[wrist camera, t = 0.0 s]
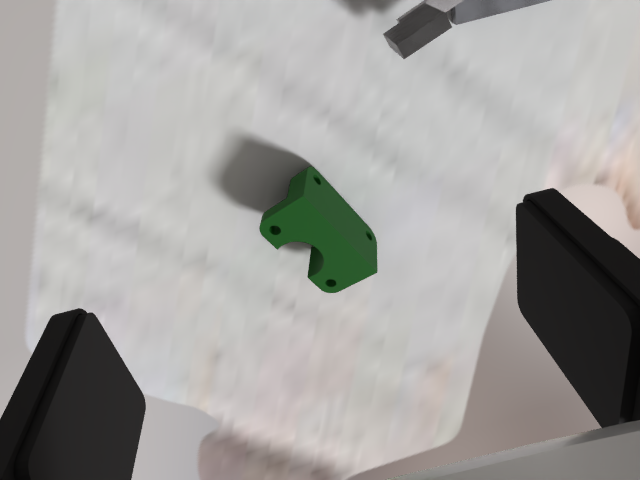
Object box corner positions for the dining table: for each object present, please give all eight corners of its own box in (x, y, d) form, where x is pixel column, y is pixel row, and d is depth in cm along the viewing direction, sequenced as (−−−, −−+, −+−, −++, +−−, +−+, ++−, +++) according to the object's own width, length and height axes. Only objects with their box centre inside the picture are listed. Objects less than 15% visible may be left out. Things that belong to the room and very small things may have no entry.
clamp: (280, 185, 55) (242, 211, 47) (324, 156, 52) (292, 178, 44) (341, 277, 57) (314, 317, 49) (386, 254, 54) (366, 292, 46)
